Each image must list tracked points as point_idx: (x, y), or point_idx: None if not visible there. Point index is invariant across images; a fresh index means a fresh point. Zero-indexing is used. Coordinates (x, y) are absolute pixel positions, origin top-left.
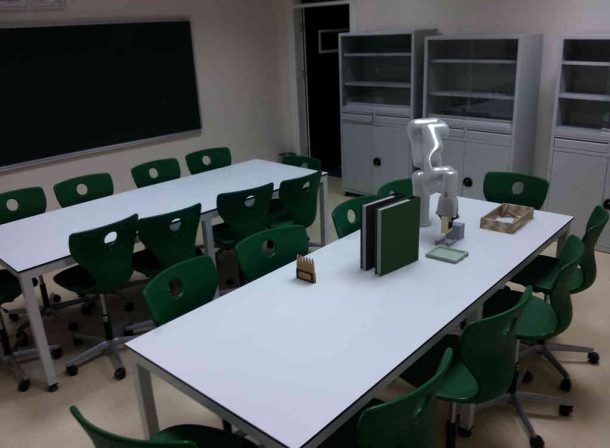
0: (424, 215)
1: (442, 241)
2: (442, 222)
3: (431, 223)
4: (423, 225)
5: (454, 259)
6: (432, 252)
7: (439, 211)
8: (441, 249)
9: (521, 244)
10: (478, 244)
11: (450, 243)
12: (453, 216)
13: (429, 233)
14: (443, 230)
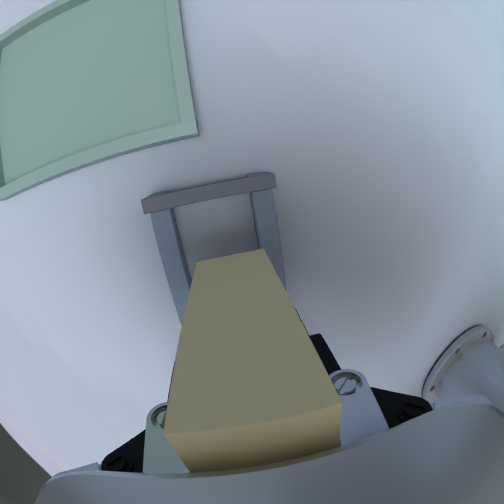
0: (471, 391)
1: (202, 195)
2: (273, 319)
3: (423, 396)
4: (446, 356)
5: (13, 67)
6: (167, 23)
7: (474, 468)
8: (149, 111)
9: (33, 437)
10: (86, 372)
11: (164, 251)
12: (50, 481)
13: (397, 317)
14: (231, 266)
